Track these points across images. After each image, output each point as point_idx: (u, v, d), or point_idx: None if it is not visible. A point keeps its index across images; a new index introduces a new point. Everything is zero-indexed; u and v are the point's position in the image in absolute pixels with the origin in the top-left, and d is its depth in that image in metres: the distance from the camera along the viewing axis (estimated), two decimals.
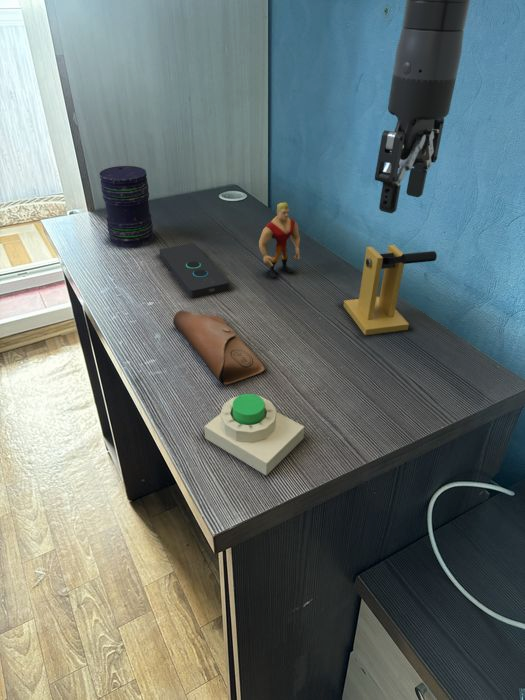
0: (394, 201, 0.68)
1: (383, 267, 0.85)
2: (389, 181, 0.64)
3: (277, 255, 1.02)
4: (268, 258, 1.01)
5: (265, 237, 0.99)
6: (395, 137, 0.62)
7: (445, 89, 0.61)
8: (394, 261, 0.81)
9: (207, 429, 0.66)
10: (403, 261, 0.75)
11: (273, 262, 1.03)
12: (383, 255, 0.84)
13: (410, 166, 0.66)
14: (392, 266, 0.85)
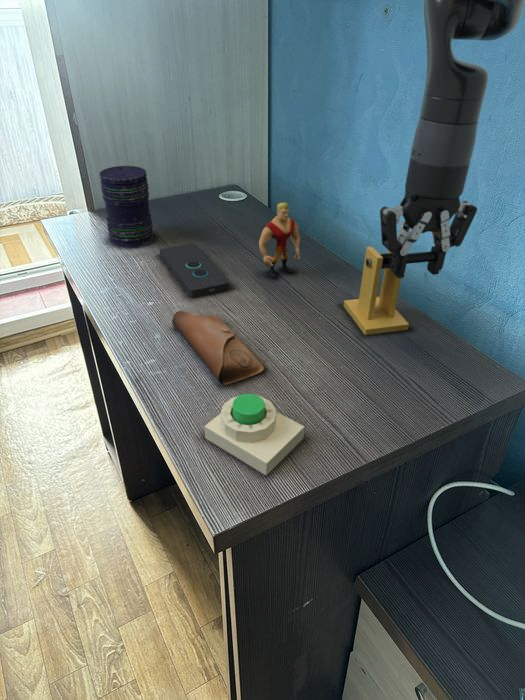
0: (400, 268, 0.74)
1: (383, 267, 0.85)
2: (388, 249, 0.72)
3: (277, 255, 1.02)
4: (268, 258, 1.01)
5: (265, 237, 0.99)
6: (385, 215, 0.69)
7: (442, 174, 0.65)
8: None
9: (207, 429, 0.66)
10: None
11: (273, 262, 1.03)
12: (383, 255, 0.84)
13: (414, 239, 0.71)
14: None
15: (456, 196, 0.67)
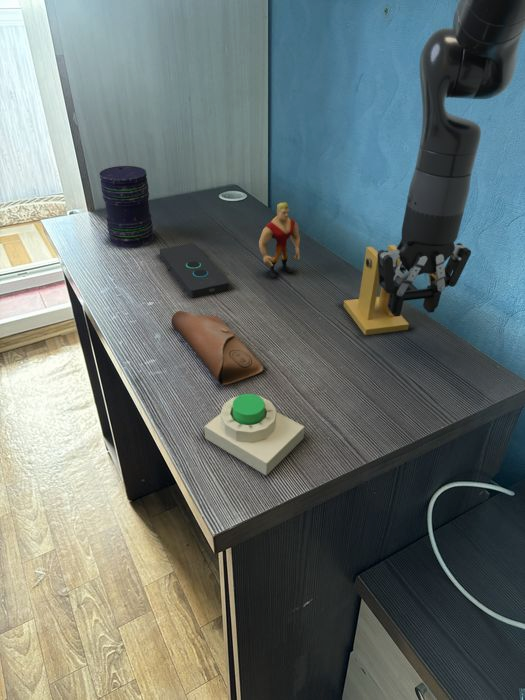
0: (397, 307, 0.77)
1: None
2: (385, 290, 0.75)
3: (277, 255, 1.02)
4: (268, 258, 1.01)
5: (265, 237, 0.99)
6: (382, 259, 0.72)
7: (437, 223, 0.67)
8: None
9: (207, 429, 0.66)
10: None
11: (273, 262, 1.03)
12: None
13: (410, 281, 0.74)
14: None
15: (450, 242, 0.69)
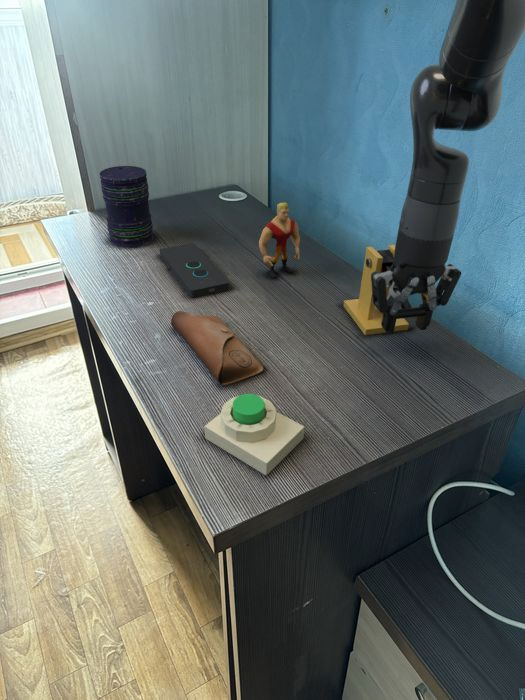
0: (390, 326, 0.80)
1: None
2: (378, 309, 0.77)
3: (277, 255, 1.02)
4: (268, 258, 1.01)
5: (265, 237, 0.99)
6: (376, 280, 0.75)
7: (427, 247, 0.70)
8: (390, 283, 0.84)
9: (207, 429, 0.66)
10: None
11: (273, 262, 1.03)
12: (384, 263, 0.84)
13: (403, 301, 0.77)
14: None
15: (441, 265, 0.72)
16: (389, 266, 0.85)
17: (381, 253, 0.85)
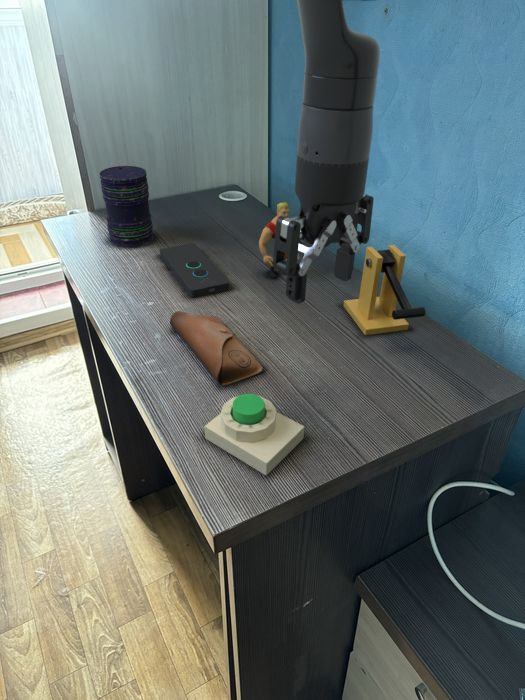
0: (300, 291, 0.59)
1: None
2: (286, 272, 0.56)
3: None
4: (268, 258, 1.01)
5: (265, 237, 0.99)
6: (288, 226, 0.53)
7: (349, 174, 0.52)
8: (390, 283, 0.84)
9: (207, 429, 0.66)
10: (393, 316, 0.80)
11: None
12: (384, 264, 0.84)
13: (316, 255, 0.57)
14: None
15: (362, 197, 0.55)
16: (389, 266, 0.85)
17: (381, 253, 0.85)
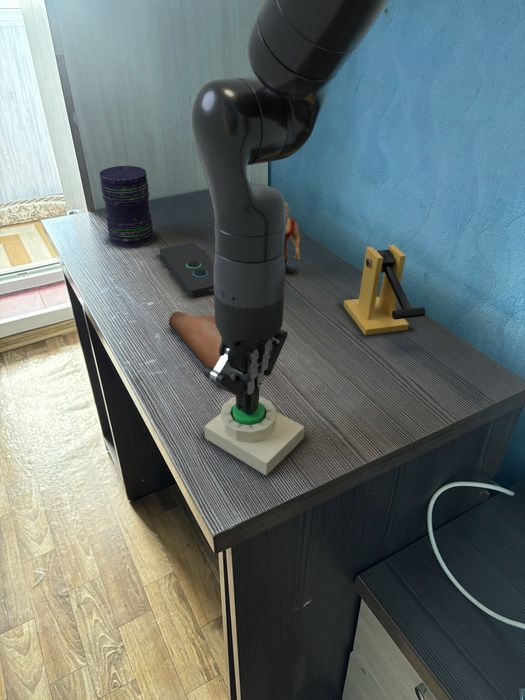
0: (250, 405, 0.63)
1: None
2: (236, 395, 0.60)
3: None
4: None
5: None
6: (217, 382, 0.56)
7: (266, 314, 0.53)
8: (390, 283, 0.84)
9: (207, 429, 0.66)
10: (393, 316, 0.80)
11: None
12: (384, 264, 0.84)
13: (255, 376, 0.60)
14: None
15: None
16: (389, 266, 0.85)
17: (381, 253, 0.85)
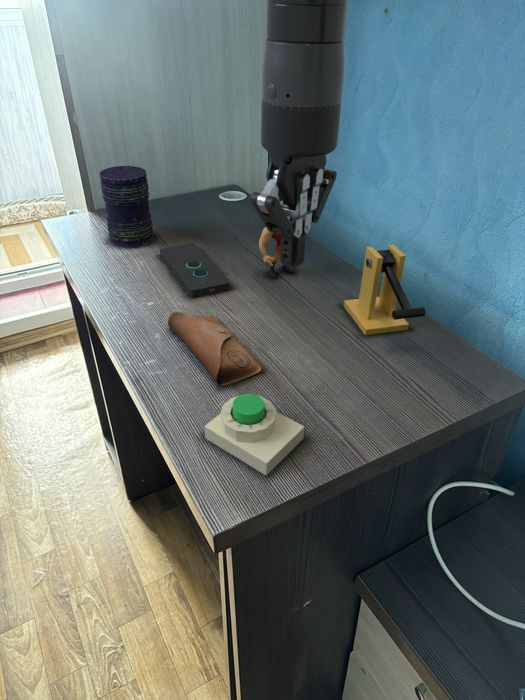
0: (296, 255, 0.57)
1: None
2: (283, 234, 0.53)
3: (277, 255, 1.02)
4: (268, 258, 1.01)
5: (265, 237, 0.99)
6: (265, 206, 0.49)
7: (323, 118, 0.47)
8: (390, 283, 0.84)
9: (207, 429, 0.66)
10: (393, 316, 0.80)
11: (273, 262, 1.03)
12: (384, 264, 0.84)
13: (304, 213, 0.53)
14: None
15: (336, 146, 0.50)
16: (389, 266, 0.85)
17: (381, 253, 0.85)
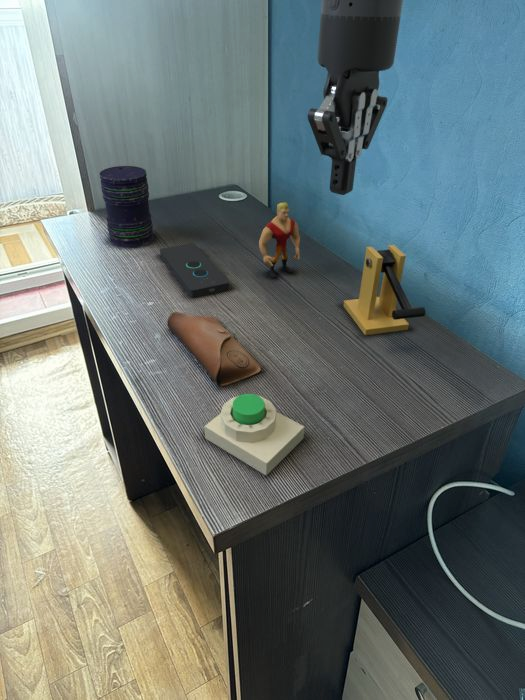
0: (346, 180, 0.57)
1: None
2: (337, 155, 0.54)
3: (277, 255, 1.02)
4: (268, 258, 1.01)
5: (265, 237, 0.99)
6: (323, 121, 0.50)
7: (384, 30, 0.47)
8: (390, 283, 0.84)
9: (207, 429, 0.66)
10: (393, 316, 0.80)
11: (273, 262, 1.03)
12: (384, 264, 0.84)
13: (357, 135, 0.54)
14: None
15: None
16: (389, 266, 0.85)
17: (381, 253, 0.85)
